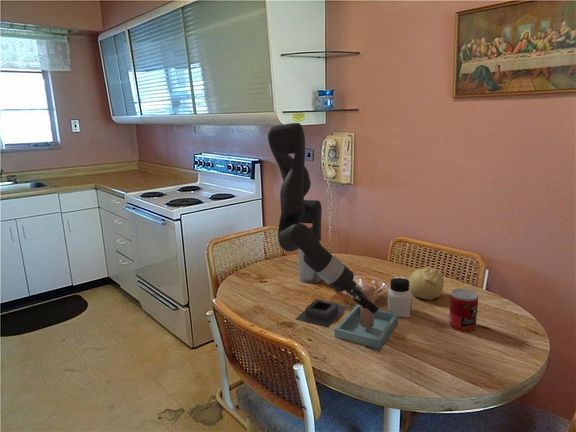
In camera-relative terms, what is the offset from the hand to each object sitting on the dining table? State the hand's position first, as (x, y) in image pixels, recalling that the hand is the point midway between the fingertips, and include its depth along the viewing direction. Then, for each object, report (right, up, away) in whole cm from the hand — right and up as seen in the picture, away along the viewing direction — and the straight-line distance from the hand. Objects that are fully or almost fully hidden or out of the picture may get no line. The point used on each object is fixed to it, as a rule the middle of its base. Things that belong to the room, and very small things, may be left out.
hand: (373, 307), depth 125 cm
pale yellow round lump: (+24, -1, +25) cm, 35 cm away
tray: (-2, -8, +2) cm, 8 cm away
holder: (-15, -6, +13) cm, 20 cm away
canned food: (+28, -7, +3) cm, 29 cm away
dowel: (-2, -5, +1) cm, 6 cm away
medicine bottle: (+11, -5, +13) cm, 18 cm away
